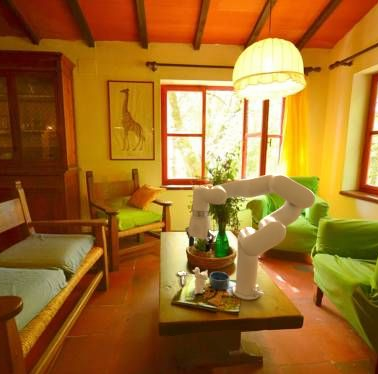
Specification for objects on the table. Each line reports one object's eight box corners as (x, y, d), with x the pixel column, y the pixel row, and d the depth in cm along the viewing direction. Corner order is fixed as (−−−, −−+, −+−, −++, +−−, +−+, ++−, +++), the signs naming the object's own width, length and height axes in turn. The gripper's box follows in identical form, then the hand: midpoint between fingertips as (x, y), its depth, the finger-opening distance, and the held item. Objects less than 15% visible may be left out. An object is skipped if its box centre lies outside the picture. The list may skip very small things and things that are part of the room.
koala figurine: (194, 296, 116) (195, 272, 114) (188, 289, 122) (189, 265, 120) (210, 293, 119) (211, 269, 118) (204, 286, 125) (204, 263, 124)
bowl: (232, 285, 127) (233, 275, 126) (222, 293, 120) (222, 283, 119) (216, 278, 133) (216, 269, 133) (205, 285, 126) (205, 276, 125)
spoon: (187, 285, 126) (187, 283, 126) (179, 285, 125) (179, 284, 125) (185, 272, 139) (185, 271, 139) (177, 272, 139) (177, 271, 139)
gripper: (181, 211, 119) (180, 246, 122) (211, 218, 108) (209, 256, 111) (191, 209, 125) (190, 242, 127) (220, 215, 114) (219, 251, 116)
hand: (199, 248), depth 119 cm, fingers open, 9 cm apart
